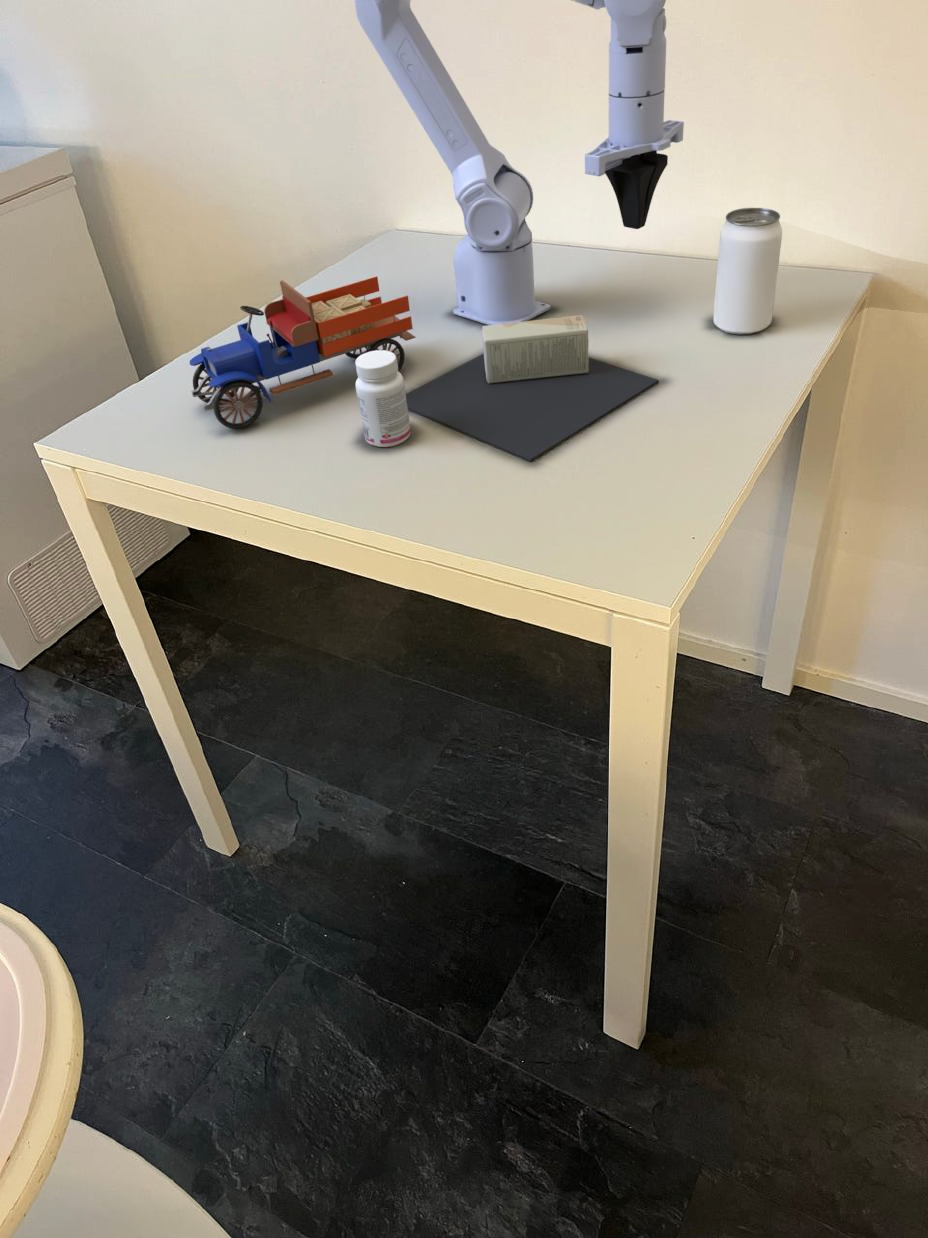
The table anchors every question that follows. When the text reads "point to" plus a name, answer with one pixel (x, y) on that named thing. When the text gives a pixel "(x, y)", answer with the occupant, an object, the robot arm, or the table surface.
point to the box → (535, 349)
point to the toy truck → (297, 344)
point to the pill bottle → (382, 399)
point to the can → (747, 270)
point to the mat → (525, 404)
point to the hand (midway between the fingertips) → (634, 225)
